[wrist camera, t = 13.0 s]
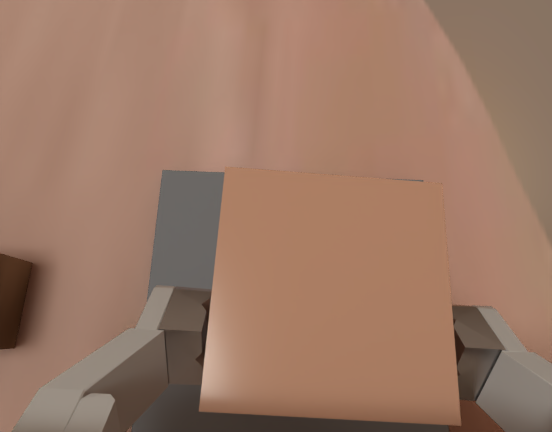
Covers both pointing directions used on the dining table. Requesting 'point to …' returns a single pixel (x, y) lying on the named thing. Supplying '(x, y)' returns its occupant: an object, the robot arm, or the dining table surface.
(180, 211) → the grey mat
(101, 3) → the dining table surface
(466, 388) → the robot arm
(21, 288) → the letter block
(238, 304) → the tan rectangular pillar
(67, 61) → the dining table surface
